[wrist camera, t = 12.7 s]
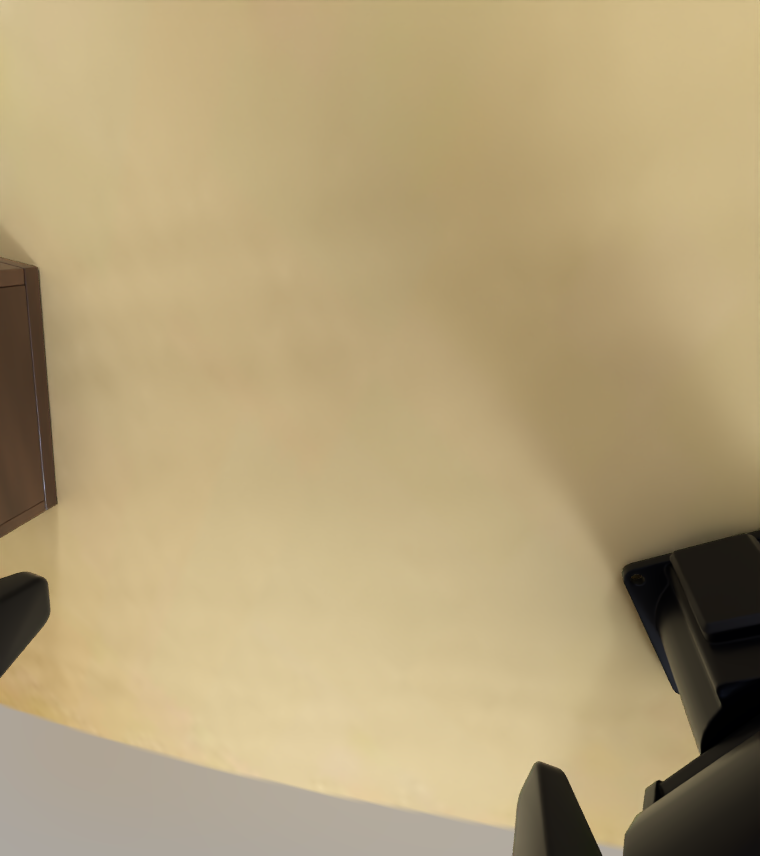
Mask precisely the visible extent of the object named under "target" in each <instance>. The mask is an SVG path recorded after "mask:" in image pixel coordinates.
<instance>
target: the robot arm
mask: <svg viewBox="0 0 760 856" xmlns="http://www.w3.org/2000/svg"><path fill="white" fill-rule="evenodd" d="M637 574H639V575H642V576H641V578H639V579H633V578H631V577H632V576H633V575H637ZM622 577H623V581H624V584H625V586H626V588H627V590H628V592H629V595H630V597H631V599H632V601H633V603H634V606H635V608H636V610H637V612H638V614H639V616H640V619H641V621H642V623H643V625H644V627H645V629H646V632H647V634H648V636H649V638H650V640H651V643H652V645H653V647H654V649H655V651H656V653H657V656H658V658H659V660H660V662H661V664H662V666H663V669H664V671H665V673H666V675H667V677H668V680H669V682H670V684H671V686H672V688H673V690H674V691H675V692H676V693H678V694H679V695H680V697H681V700H682V703H683V706H684V709H685V712H686V715H687V718H688V721H689V724H690V727H691V729H692V732H693V735H694V738H695V741H696V744H697V747H698V750H699V753H700V756H699V757H697V758H696V759H694V760H693V761H692V762H690V763H689V764H687V765H686V766H685V767H683V768H682V769H680V770H679V771H677V772H676V773H675V774H673V775H672V776H670V777H669V778H667V779H666V780H665V781H663V782H662V781H660V780H658V781H656V782H654V783H653V784H652V785H650V786H649V787H647V788H646V790H645V796H644V804H643V811H642V812H641V813H639V814H638V815H636V817H635V819H634V820H633V822H632V824H631V825H630V827H629V828H628V830H627V832H626V833H625V839H624V850H623V856H760V530H759V531H755V532H751V533H747V534H745V533H743V534H739V535H735V536H731V537H727V538H724V539H720V540H716V541H712V542H708V543H704V544H700V545H697V546H693V547H689V548H685V549H681V550H677V551H674V552H673V553H669V554H666V555H662V556H658V557H654V558H650V559H646V560H642V561H638V562H635V563H631V564H629V565H626V566H625V567H624V568H623V570H622ZM49 615H50V599H49V589H48V582H47V580H46V579H45V578H44V577H41V576H39V575H36V574H33V573H31V572H20V573H16V574H13V575H10V576H7V577H4V578H1V579H0V678H1V676H2V675H3V674H4V673H5V672H6V670H7V669H8V668H9V667H10V666H11V664H12V663H13V662H14V661H15V660H16V658H17V657H18V656H19V655H20V654H21V652H22V651H23V650H24V649H25V648H26V646H27V645H28V644H29V643H30V642H31V640H32V639H33V638H34V637H35V636H36V634H37V633H38V632H39V631H40V630H41V628H42V627H43V626H44V625H45V623H46V622H47V620H48V618H49ZM513 856H602V854H601V852H600V849H599V847H598V845H597V843H596V841H595V838H594V836H593V834H592V832H591V830H590V827H589V825H588V823H587V821H586V819H585V816H584V814H583V812H582V810H581V808H580V806H579V803H578V801H577V799H576V797H575V795H574V792H573V790H572V788H571V786H570V784H569V781H568V779H567V777H566V775H565V774H564V772H563V771H562V770H561V769H559V768H557V767H554V766H551V765H549V764H546V763H543V762H540V761H538V762H536V763H535V764H534V765H533V767H532V769H531V771H530V773H529V775H528V777H527V779H526V781H525V783H524V785H523V787H522V789H521V791H520V794H519V798H518V803H517V812H516V823H515V834H514V846H513Z"/></svg>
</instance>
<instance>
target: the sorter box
mask: <svg viewBox="0 0 760 856" xmlns="http://www.w3.org/2000/svg"><path fill="white" fill-rule="evenodd" d="M56 504H57V500H56V488H55V475H54V463H53V450H52V438H51V425H50V413H49V400H48V388H47V375H46V363H45V350H44V338H43V325H42V313H41V300H40V288H39V276H38V267H35V266H31V265H28V264H24V263H20V262H16V261H12V260H9V259H5V258H1V257H0V538H1V537H3V536H4V535H6V534H8V533H9V532H11V531H13V530H14V529H16V528H18V527H19V526H21V525H23V524H24V523H26V522H28V521H29V520H31V519H33V518H34V517H36V516H38V515H39V514H41V513H43V512H44V511H46V510H48V509H50V508H51V507H53V506H55V505H56Z"/></svg>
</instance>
